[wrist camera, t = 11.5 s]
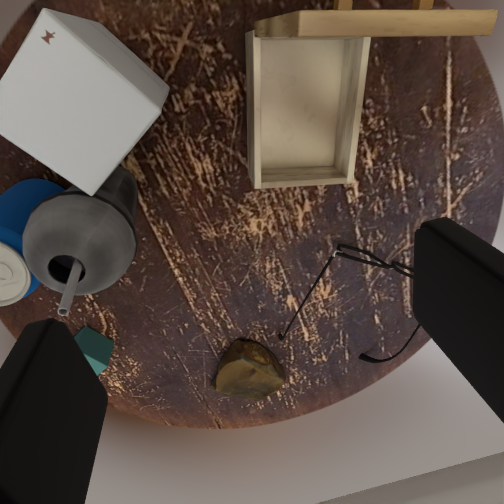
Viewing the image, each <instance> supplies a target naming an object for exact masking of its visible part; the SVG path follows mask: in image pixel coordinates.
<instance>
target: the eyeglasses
mask: <svg viewBox="0 0 504 504" xmlns="http://www.w3.org/2000/svg"><path fill="white" fill-rule="evenodd" d="M340 247H343V248H347V249H351V250H355V251H358V252H361V253H364V254H366V255H368V256H370V257H372V258H374V259H375V260H377V263H375V262H371V261H367V260H364V259H360V258H357V257H353V256H350V255H347V254H345V253H344V252H343V251H342V250H341V249H340ZM335 254H337V255H339V256H342V257H345V258H348V259H352V260H355V261H359V262H362V263H366V264H370V265H374V266H378V267H382V268H386V269H390V270H391V269H394V270H396V271H397V272H399V273H401V274H403V275H405V276H408V277H410V278H412V279H413V277H414V276H413V275H411V274H408V273H406V272H404V271H402V270H400V269H399V268H397V267H396V266H395V265H398V266H400V267H403V268H405V269H407V270H409V271H412V272H414V270H413V269H411V268H409V267H407V266H404V265H402V264H400V263H397V262H392V263H391V265H388V264H387V263H385V262H384V261H382V260H381V259H379V258H377V257H376V256H374V255H372V254H370V253H368V252H366V251H363V250H360V249H357V248H354V247H350V246H346V245H342V244H338V246H337V250H335V252H334V253H333V254H332V255H331V257H330V259H329V260H328V262H327V264H326V265H325V267H324V268H323V270H322V272H321V273H320V275H319V277H318V278H317V280H316V281H315V283H314V285H313V286H312V288H311V290H310V291H309V293H308V294H307V296H306V298H305V299H304V301H303V303H302V304H301V306H300V307H299V309H298V311H297V312H296V314H295V316H294V317H293V319H292V321H291V323H290V324H289V326H288V328H287V330H286V332H285V334H284V335H283V336H282V334H281V333H280V334H279V339H280V340H281V341H283V340H284V338H285V336H286V333H287V332H288V330H289V328H290V326H291V324H292V322H293V321H294V319H295V317H296V316H297V314H298V312H299V311H300V309H301V308H302V306H303V304H304V303H305V301H306V300H307V298H308V296H309V295H310V293H311V292H312V290H313V289H314V287H315V286H316V284H317V282H318V281H319V279H320V278H321V276H322V275H323V273H324V272H325V270H326V268H327V267H328V265H329V264H330V262H331V261H332V259H333V258H334V257H335ZM419 327H420V324H419V325H418V326H417V328H416V329H415V331H414V332H413V334H412V336H411V337H410V339H409V340H408V342H407V343H406V344H405V346H404V347H403V348H402V349H401V350H400V351H399V352H398V353H397V354H396V355H394V356H392V357H390V358H388V359H383V360H378V359H374V358H371V357H369V356H367V355H365V354H363V355H361V356H360V357H359V359H361V360H364V361H367V362H371V363H380V362H385V361H388V360H391V359H393V358H394V357H396V356H397V355H398V354H400V353H401V352H402V351H403V350H404V348H405V347H406V346H407V345H408V343H409V342H410V340H411V339H412V337H413V336H414V334H415V333H416V332H417V330H418V329H419Z"/></svg>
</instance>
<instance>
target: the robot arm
mask: <svg viewBox="0 0 504 504" xmlns="http://www.w3.org/2000/svg"><path fill="white" fill-rule="evenodd" d="M413 313H414V316H415V318H416V320H417V321H418V323H419V324H420V325H421V326H422V327H423V328H424V330H425V331H426V332H427V333H428V334H429V336H430V337H431V338H432V339H433V340H434V341H435V343H436V344H437V345H438V346H439V347H440V349H441V350H442V351H443V352H444V353H445V354H446V356H447V357H448V358H449V359H450V360H451V362H452V363H453V364H454V365H455V366H456V367H457V369H458V370H459V371H460V372H461V373H462V375H463V376H464V377H465V378H466V379H467V380H468V382H469V383H470V384H471V385H472V386H473V388H474V389H475V390H476V391H477V392H478V393H479V395H480V396H481V397H482V398H483V399H484V400H485V402H486V403H487V404H488V405H489V406H490V408H491V409H492V410H493V411H494V412H495V414H496V415H497V416H498V417H499V418H500V419H501V421H502V422H503V423H504V253H502V252H501V251H499V250H498V249H496V248H495V247H493V246H492V245H490V244H488V243H487V242H485V241H484V240H482V239H481V238H479V237H478V236H476V235H474V234H473V233H471V232H470V231H468V230H467V229H465V228H464V227H462V226H460V225H459V224H457V223H456V222H454V221H453V220H451V219H450V218H447V217H442V218H438V219H434V220H430V221H426V222H423V223H422V224H421V226H420V229H417V230H416V232H415V240H414V277H413ZM107 404H108V397H107V392H106V390H105V388H104V386H103V385H102V383H101V381H100V380H99V378H98V376H97V375H96V373H95V371H94V370H93V368H92V367H91V365H90V363H89V362H88V360H87V358H86V357H85V355H84V354H83V352H82V350H81V349H80V347H79V345H78V344H77V342H76V340H75V339H74V337H73V336H72V334H71V332H70V331H69V329H68V327H67V326H66V324H65V323H64V322H61V321H60V322H58V321H57V320H56V319H54V318H49V319H45V320H41V321H37V322H33V323H30V324H27V325H26V327H25V328H24V330H23V331H22V333H21V335H20V336H19V338H18V340H17V341H16V343H15V345H14V347H13V348H12V350H11V351H10V353H9V355H8V357H7V358H6V360H5V362H4V363H3V365H2V367H1V368H0V504H85V499H86V495H87V491H88V486H89V482H90V478H91V473H92V469H93V464H94V460H95V456H96V452H97V447H98V443H99V439H100V434H101V430H102V425H103V421H104V417H105V413H106V408H107ZM317 504H504V452H502V453H498V454H495V455H491V456H487V457H484V458H480V459H477V460H473V461H469V462H465V463H462V464H458V465H454V466H451V467H448V468H444V469H440V470H436V471H433V472H429V473H425V474H422V475H418V476H414V477H411V478H408V479H404V480H400V481H396V482H392V483H389V484H385V485H382V486H378V487H375V488H371V489H367V490H364V491H360V492H356V493H353V494H349V495H346V496H342V497H338V498H335V499H331V500H328V501H324V502H321V503H317Z"/></svg>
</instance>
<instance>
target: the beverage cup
mask: <svg viewBox="0 0 504 504" xmlns="http://www.w3.org/2000/svg"><path fill="white" fill-rule="evenodd" d="M137 200H138V186H137V182H136V180H135V178H134V176H133V175H132V174H131V173H130V172H129V171H128V170H126V169H125V168H123V167H121V166H117V167H116V169H115V170H114V171H113V172H112V173H111V175H110V176H109V177H108V178H107V179H106V180H105V182H104V183H103V184H102V185H101V186H100V188H99V189H98V190H97V191H96V192H95V194H94V195H93V196H90V195H89V194H87V193H86V192H84V191H83V190H81V189H80V188H78V187H77V186H75V185H73V186H71V187H70V188H68V189H67V190H66V191H64V192H59V193H56V194H54V195H52V196H49V197H47V198H45V199H43V200H42V201H41V202H40V203H39V204H38V205H37V206H36V207H35V208H34V209H33V210H32V212H31V214H30V216H29V219H28V221H27V224H26V227H25V230H24V232H23V236H22V238H23V256H24V258H25V261H26V263H27V265H28V268H29V270H30V271H31V272H32V274H33V275H34V276H35V277H36V278H37V279H38V281H40V282H41V283H43V284H44V285H46V286H47V287H49V288H50V289H52V290H55V291H58V292H61V293H63V296H62V299H61V302H60V305H59V308H58V314H59V315H61V316H66V315H67V314H68V313H69V310H70V306H71V303H72V300H73V296H74V295H86V294H93V293H96V292H98V291H101V290H103V289H106V288H108V287H110V286H111V285H112V284H114V283H115V282H116V281H117V280H118V279H119V278H121V277H122V276H123V274H124V273H125V272H126V270H127V269H128V268H129V267H130V265H131V263H132V262H133V260H134V258H135V256H136V252H137V244H138V240H137V236H136V231H135V226H134V225H135V217H136V208H137Z"/></svg>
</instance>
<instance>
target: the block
mask: <svg viewBox="0 0 504 504" xmlns="http://www.w3.org/2000/svg"><path fill="white" fill-rule="evenodd" d="M74 339H75V340H76V342H77V344H78V345H79V347H80V349H81V350H82V352H83V354H84V355H85V357H86V358H87V360H88V362H89V363H90V365H91V367H92V368H93V370H94V371H95V373H96V375H97V376H98V375H99V374H100V373H101V372H102V371H103V370H104V369H105V368H106V367H108V363H109V360H110V356H111V352H112V348H113V345H114V342H113V341H112V340H110V339H108V338H106V337H105V336H103V335H101V334H99V333H98V332H96V331H94V330H92V329H91V328H89V327H87V326H85V327H84V328H83V329H82V330H81V331H80V332H79V333H78V334H77V335H76V336H75V337H74Z"/></svg>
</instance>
